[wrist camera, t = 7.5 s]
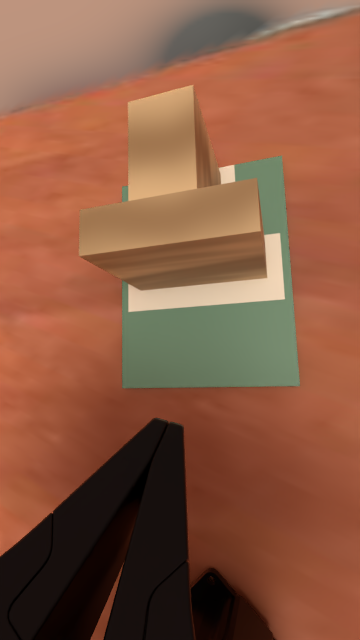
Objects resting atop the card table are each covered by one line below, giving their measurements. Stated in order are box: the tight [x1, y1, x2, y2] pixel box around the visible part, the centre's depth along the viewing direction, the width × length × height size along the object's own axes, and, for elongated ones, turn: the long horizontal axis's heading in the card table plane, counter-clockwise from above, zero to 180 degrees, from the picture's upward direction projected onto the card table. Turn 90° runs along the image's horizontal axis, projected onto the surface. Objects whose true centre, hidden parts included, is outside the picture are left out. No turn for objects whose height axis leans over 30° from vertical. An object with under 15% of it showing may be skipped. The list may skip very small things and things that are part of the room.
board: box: [122, 156, 300, 388], centre depth 24 cm, size 16×12×1 cm
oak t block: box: [79, 85, 267, 291], centre depth 20 cm, size 8×9×8 cm
